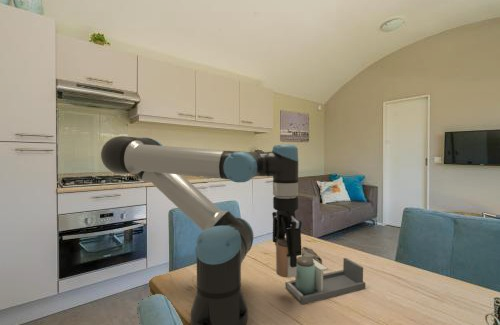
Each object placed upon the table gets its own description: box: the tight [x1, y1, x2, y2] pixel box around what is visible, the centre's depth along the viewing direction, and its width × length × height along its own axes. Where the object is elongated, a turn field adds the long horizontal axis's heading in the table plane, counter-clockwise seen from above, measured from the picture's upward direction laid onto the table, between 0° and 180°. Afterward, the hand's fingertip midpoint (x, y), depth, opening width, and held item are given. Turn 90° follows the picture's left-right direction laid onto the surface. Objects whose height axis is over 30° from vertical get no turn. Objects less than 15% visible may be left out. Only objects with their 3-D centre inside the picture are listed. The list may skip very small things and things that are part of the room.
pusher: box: [313, 259, 328, 292], centre depth 81 cm, size 2×7×8 cm, turn 21°
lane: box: [284, 257, 366, 305], centre depth 82 cm, size 24×10×7 cm, turn 111°
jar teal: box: [294, 256, 315, 296], centre depth 80 cm, size 6×6×10 cm
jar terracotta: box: [275, 236, 289, 279], centre depth 77 cm, size 6×6×10 cm
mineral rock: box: [301, 246, 323, 265], centre depth 101 cm, size 15×8×4 cm, turn 169°
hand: (286, 271), depth 77 cm, fingers closed on jar terracotta, 6 cm apart
